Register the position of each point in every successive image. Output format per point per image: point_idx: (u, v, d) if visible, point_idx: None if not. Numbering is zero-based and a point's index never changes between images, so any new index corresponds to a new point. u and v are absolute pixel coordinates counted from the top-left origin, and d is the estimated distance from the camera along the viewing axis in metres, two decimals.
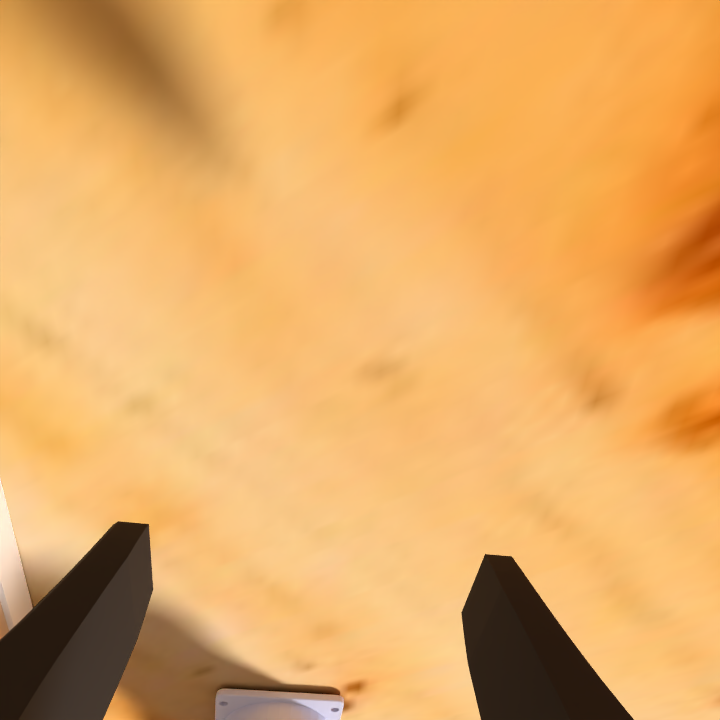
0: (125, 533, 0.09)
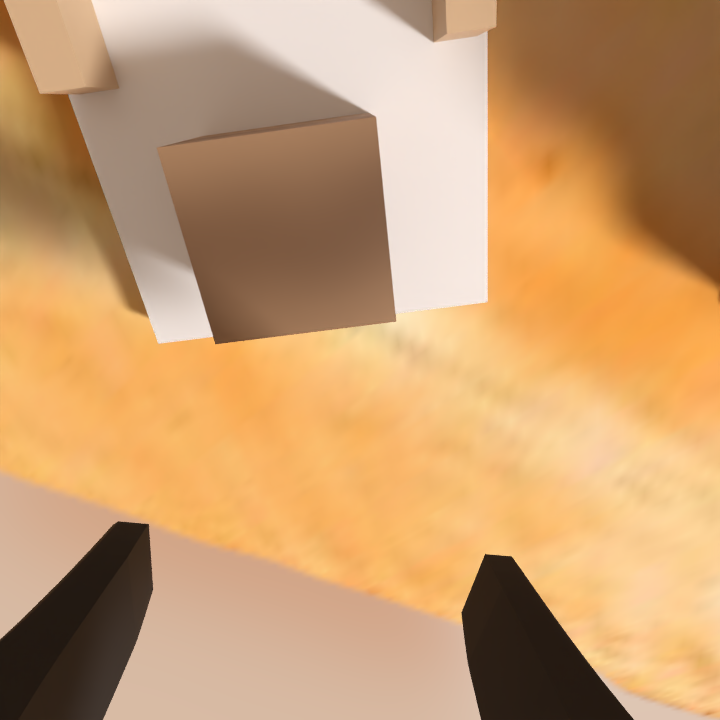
0: (125, 534, 0.09)
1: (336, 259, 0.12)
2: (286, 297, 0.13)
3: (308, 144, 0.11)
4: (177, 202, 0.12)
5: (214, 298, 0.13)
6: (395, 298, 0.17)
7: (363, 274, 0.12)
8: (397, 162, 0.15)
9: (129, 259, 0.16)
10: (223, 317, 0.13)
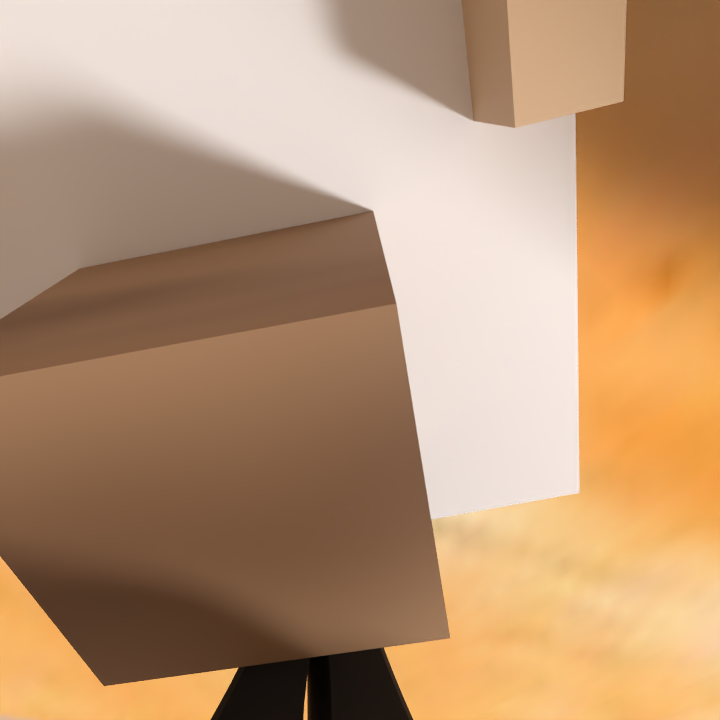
0: None
1: (324, 560, 0.06)
2: (229, 618, 0.06)
3: (233, 369, 0.05)
4: None
5: (84, 628, 0.06)
6: (432, 500, 0.11)
7: (381, 578, 0.06)
8: (421, 318, 0.09)
9: None
10: (109, 652, 0.07)
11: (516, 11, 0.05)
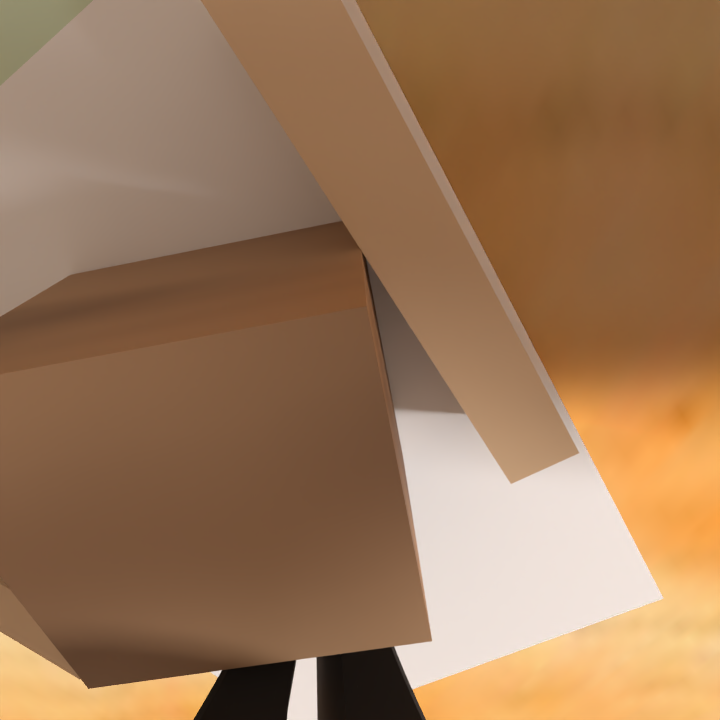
0: None
1: (303, 560, 0.06)
2: (211, 620, 0.06)
3: (209, 371, 0.05)
4: None
5: (68, 629, 0.06)
6: (540, 629, 0.13)
7: (361, 580, 0.06)
8: (487, 527, 0.11)
9: None
10: (93, 654, 0.07)
11: (488, 438, 0.08)
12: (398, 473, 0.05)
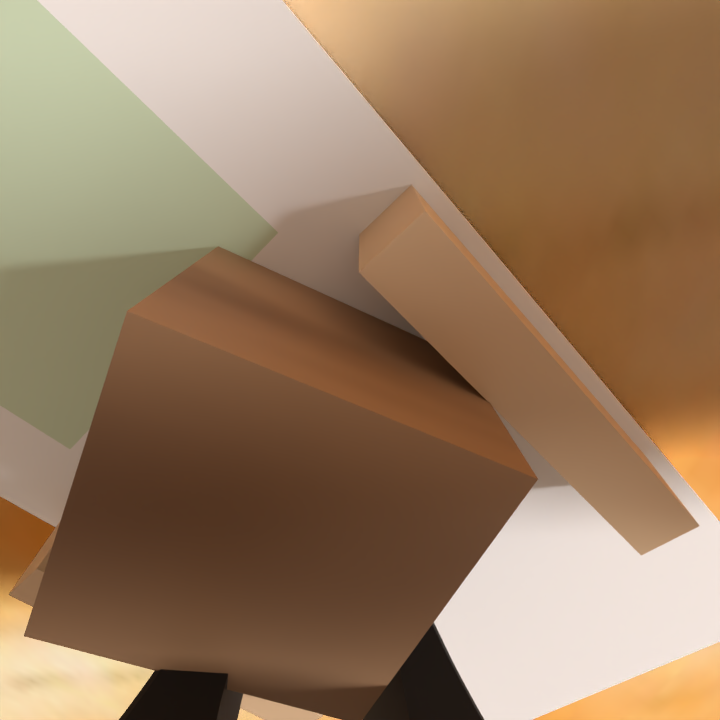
0: None
1: (331, 617, 0.07)
2: (209, 628, 0.07)
3: (408, 456, 0.06)
4: (106, 412, 0.05)
5: (72, 575, 0.06)
6: (675, 648, 0.14)
7: (357, 653, 0.07)
8: (613, 569, 0.13)
9: None
10: (69, 607, 0.06)
11: (617, 525, 0.09)
12: (453, 589, 0.07)
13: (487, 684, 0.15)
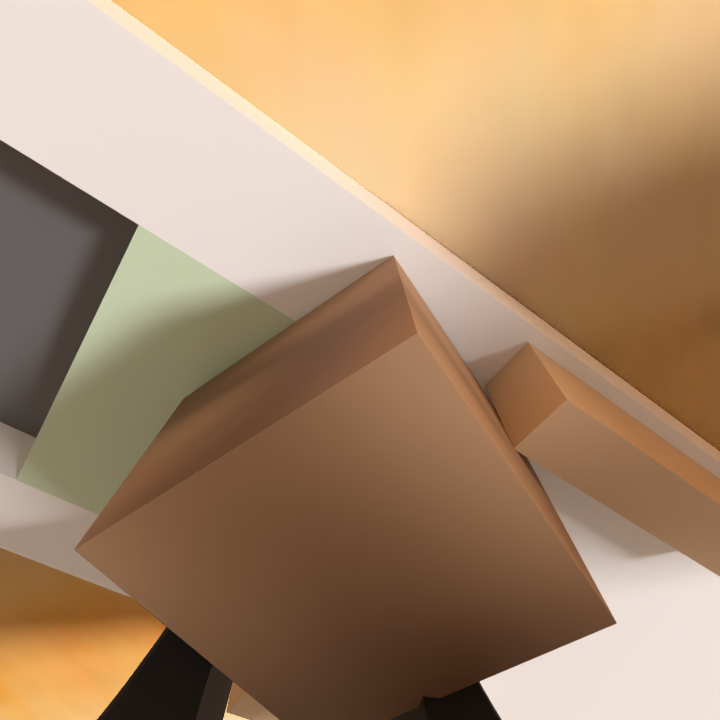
0: None
1: (368, 655, 0.07)
2: (256, 618, 0.06)
3: (538, 560, 0.06)
4: (325, 402, 0.05)
5: (169, 519, 0.06)
6: None
7: (365, 693, 0.07)
8: None
9: None
10: (141, 545, 0.06)
11: None
12: (482, 676, 0.07)
13: (636, 719, 0.16)
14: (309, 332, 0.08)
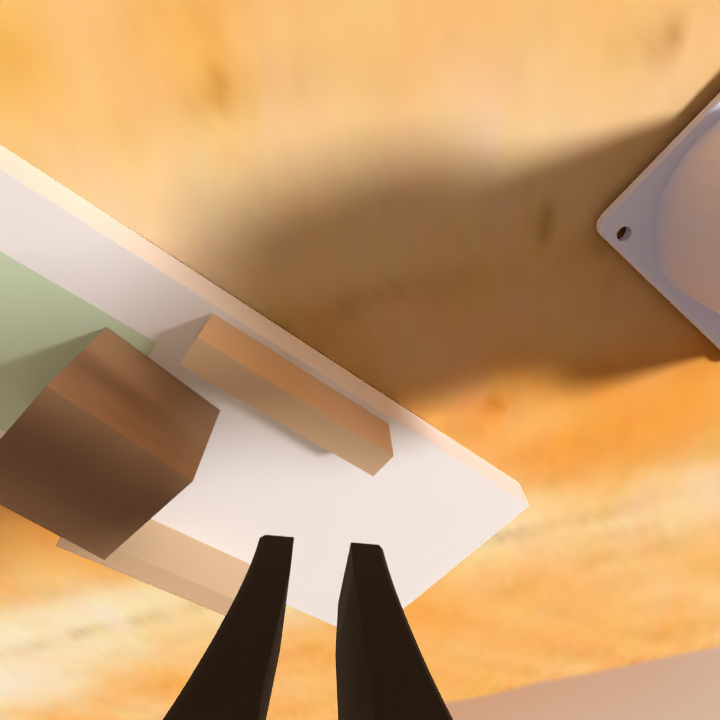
0: (278, 547, 0.10)
1: (100, 511, 0.16)
2: (46, 501, 0.15)
3: (143, 459, 0.15)
4: (27, 413, 0.14)
5: None
6: (470, 541, 0.23)
7: (109, 528, 0.16)
8: (405, 494, 0.21)
9: (318, 617, 0.25)
10: None
11: (351, 461, 0.18)
12: (155, 513, 0.16)
13: None
14: None
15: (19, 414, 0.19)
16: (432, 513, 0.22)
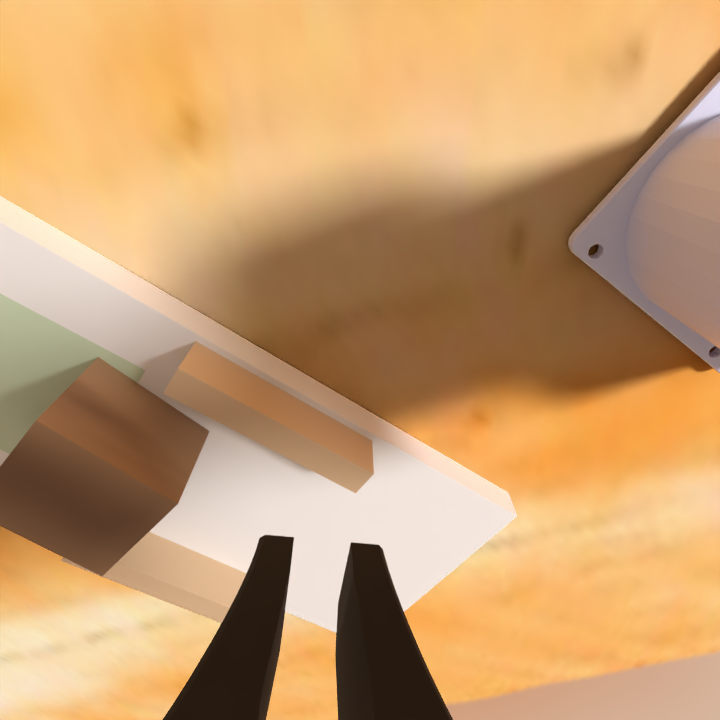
0: (278, 547, 0.10)
1: (95, 532, 0.17)
2: (44, 524, 0.17)
3: (130, 485, 0.16)
4: (21, 445, 0.15)
5: None
6: (461, 551, 0.23)
7: (104, 548, 0.17)
8: (393, 506, 0.22)
9: (317, 623, 0.26)
10: None
11: (333, 479, 0.18)
12: (145, 533, 0.17)
13: None
14: None
15: None
16: (421, 524, 0.22)
